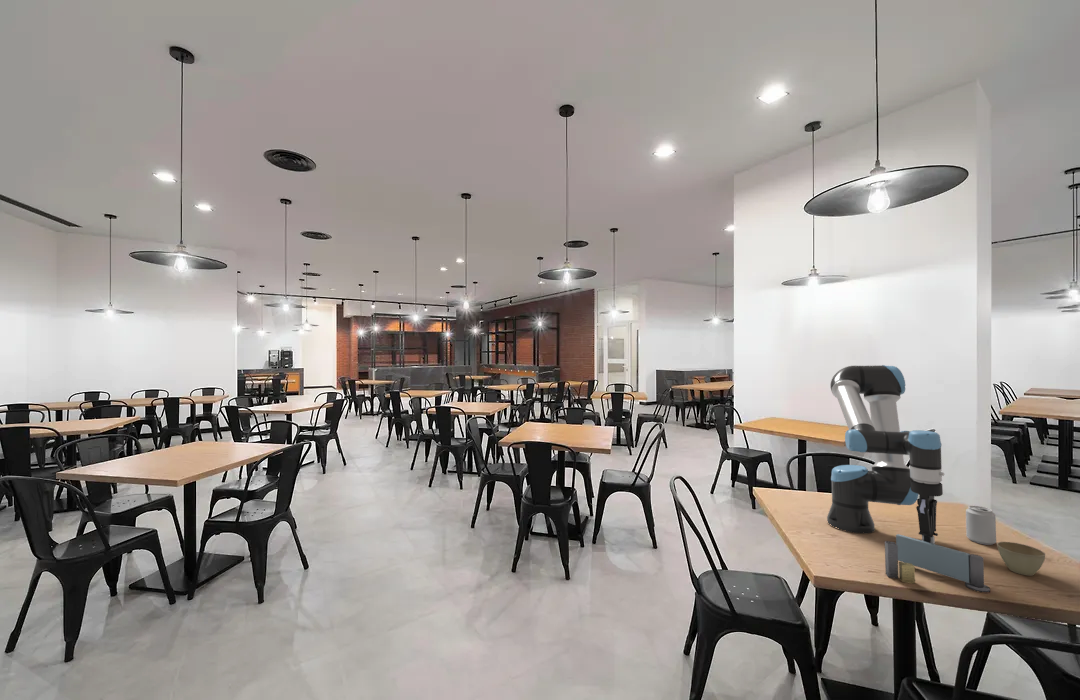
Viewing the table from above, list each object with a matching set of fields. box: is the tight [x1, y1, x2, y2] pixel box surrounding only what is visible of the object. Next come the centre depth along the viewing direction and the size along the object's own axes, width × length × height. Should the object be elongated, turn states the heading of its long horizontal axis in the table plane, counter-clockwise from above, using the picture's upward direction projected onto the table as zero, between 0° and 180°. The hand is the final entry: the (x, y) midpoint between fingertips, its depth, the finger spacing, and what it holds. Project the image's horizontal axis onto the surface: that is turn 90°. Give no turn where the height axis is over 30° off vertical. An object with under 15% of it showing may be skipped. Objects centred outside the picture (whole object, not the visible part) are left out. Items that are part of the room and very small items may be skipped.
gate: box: [895, 533, 985, 587], centre depth 131 cm, size 20×3×8 cm, turn 32°
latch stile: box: [884, 540, 916, 584], centre depth 129 cm, size 6×4×10 cm
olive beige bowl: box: [996, 541, 1046, 577], centre depth 133 cm, size 10×10×7 cm
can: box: [965, 505, 997, 546], centre depth 155 cm, size 8×8×12 cm
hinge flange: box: [964, 582, 991, 593], centre depth 124 cm, size 5×5×1 cm
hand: (928, 556), depth 135 cm, fingers closed
